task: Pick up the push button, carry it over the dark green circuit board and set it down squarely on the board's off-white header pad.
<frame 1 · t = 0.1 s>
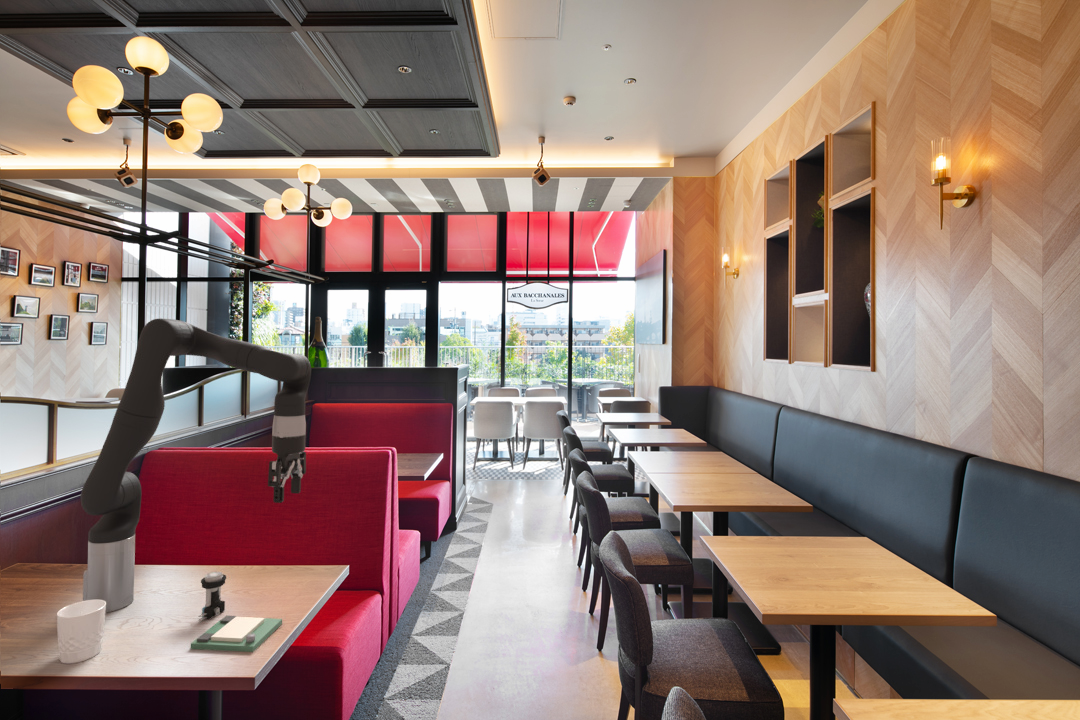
hand: (287, 497, 131), 29 cm above the table, fingers open, 8 cm apart
board: (238, 635, 120), on the table
white cup: (80, 655, 111), on the table
push button: (210, 616, 129), on the table
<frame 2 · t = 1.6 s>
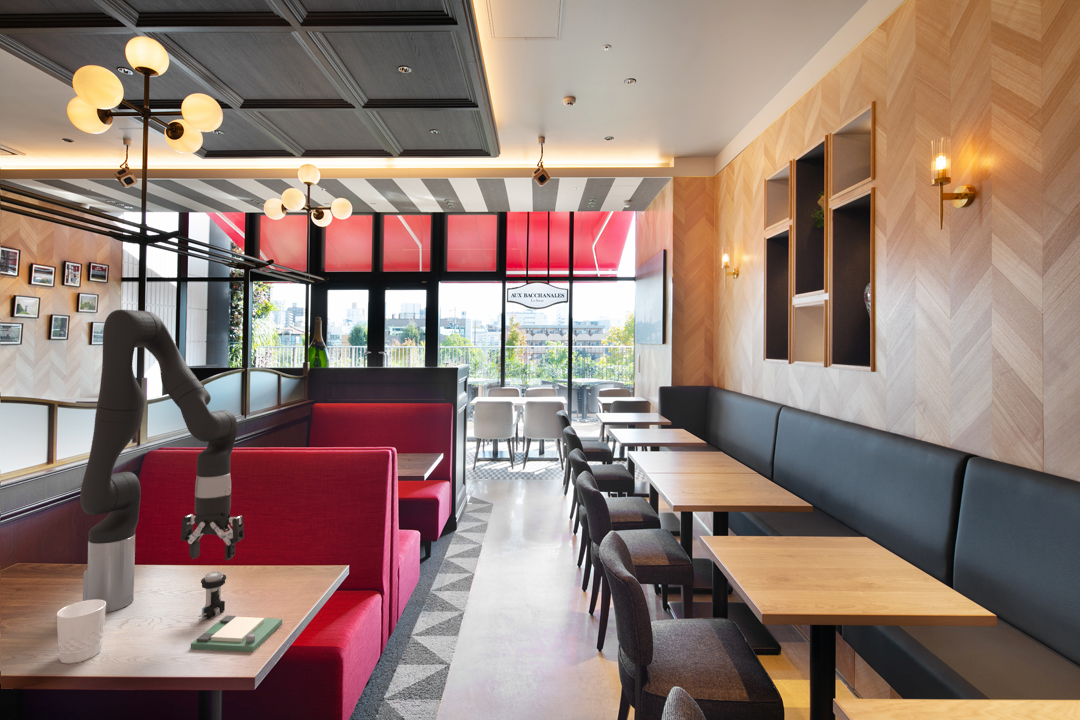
hand: (212, 558, 128), 14 cm above the table, fingers open, 8 cm apart
nothing on the table moved.
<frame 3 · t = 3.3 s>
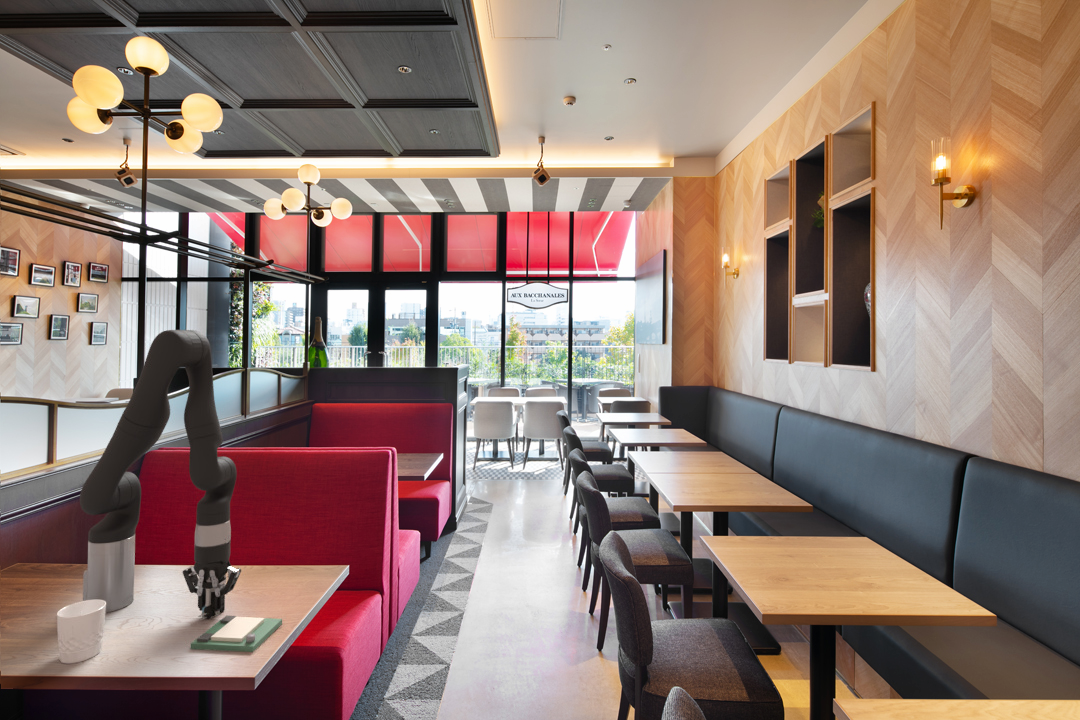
hand: (211, 609, 129), 2 cm above the table, fingers closed on push button, 3 cm apart
push button: (210, 616, 129), on the table, touching gripper
everything else where it was.
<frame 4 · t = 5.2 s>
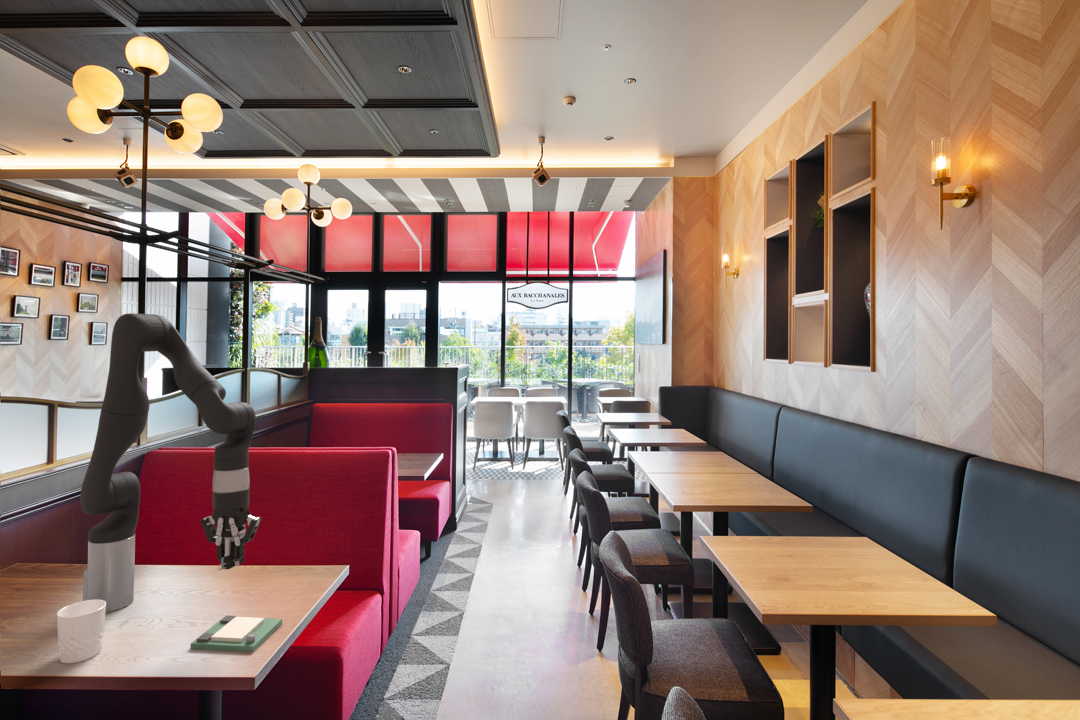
hand: (230, 559, 124), 16 cm above the table, fingers closed on push button, 3 cm apart
push button: (230, 567, 124), point 14 cm above the table, touching gripper
everything else where it was.
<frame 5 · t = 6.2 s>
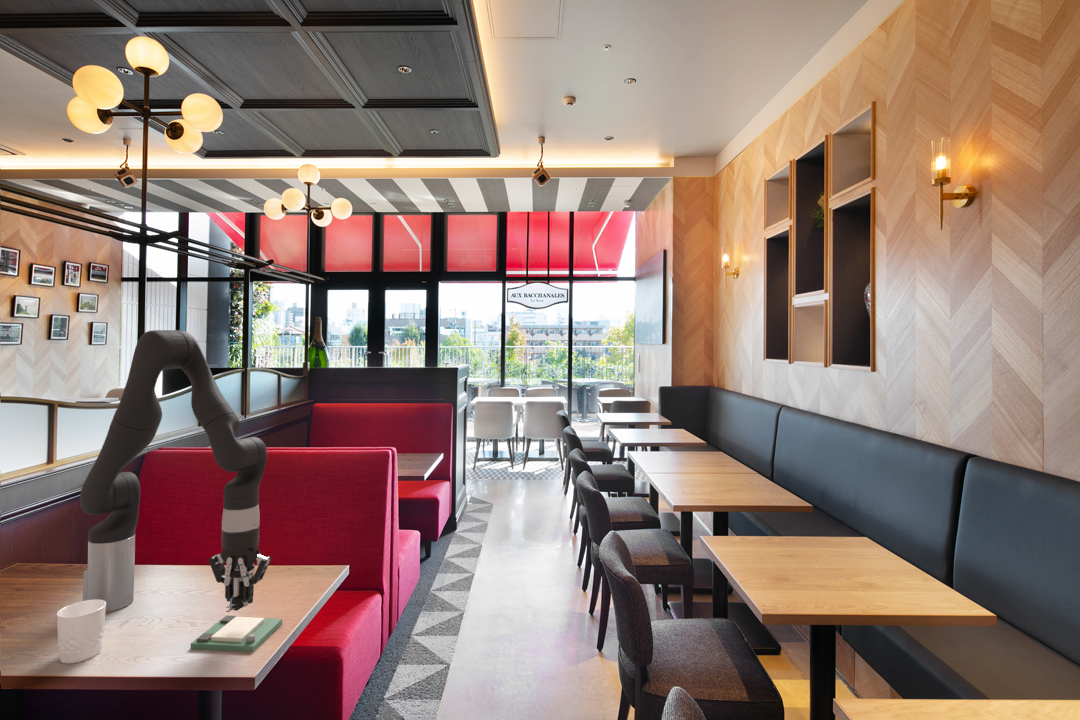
hand: (239, 600, 120), 8 cm above the table, fingers closed on push button, 3 cm apart
push button: (238, 608, 120), point 6 cm above the table, touching gripper
everything else where it was.
when the fingers open (4 cm above the table, at t = 7.2 s): push button stays where it is, resting on board.
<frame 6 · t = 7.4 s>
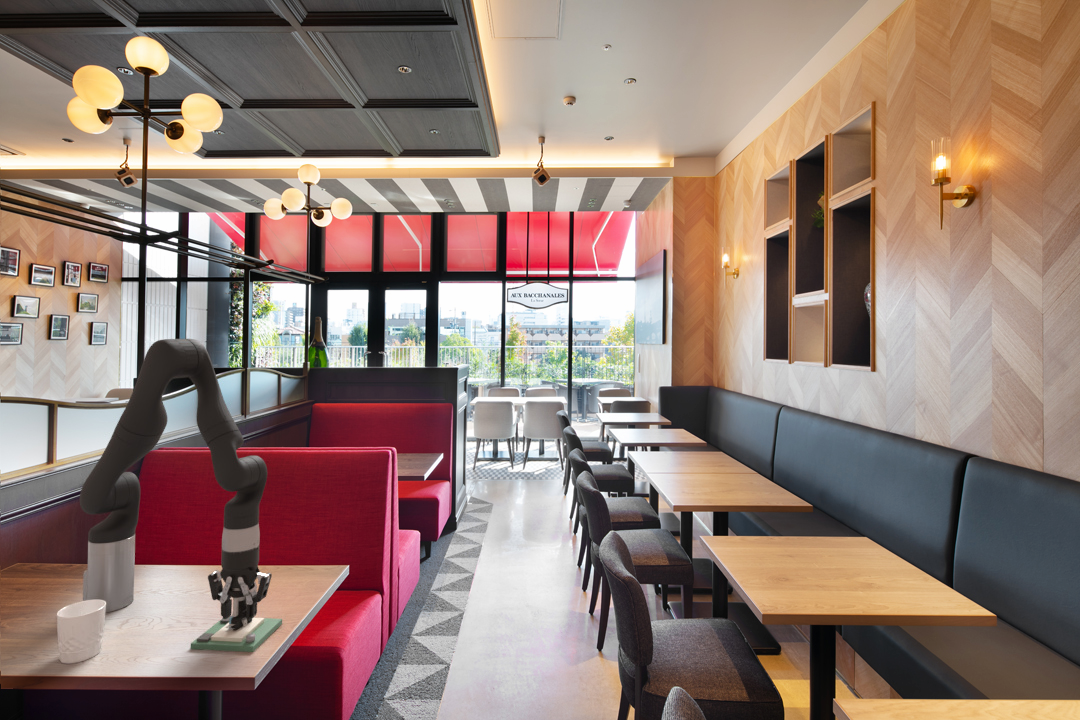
hand: (238, 617, 120), 4 cm above the table, fingers open, 5 cm apart
push button: (237, 627, 120), point 2 cm above the table, touching board
everything else where it was.
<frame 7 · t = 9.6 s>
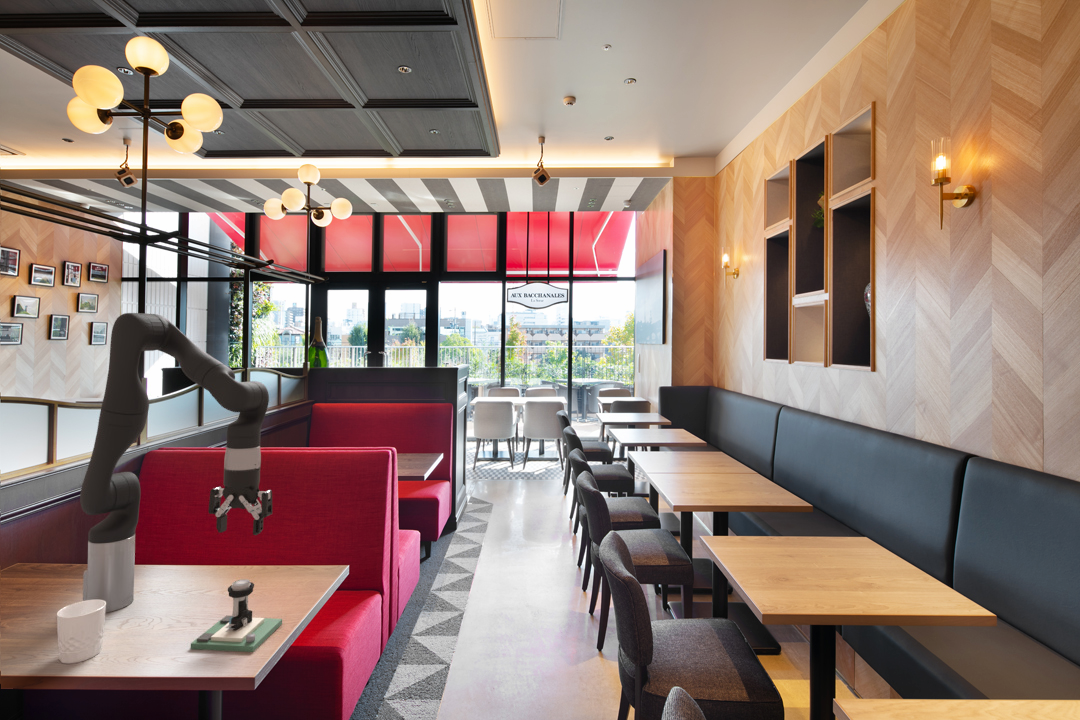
hand: (239, 532, 125), 22 cm above the table, fingers open, 8 cm apart
nothing on the table moved.
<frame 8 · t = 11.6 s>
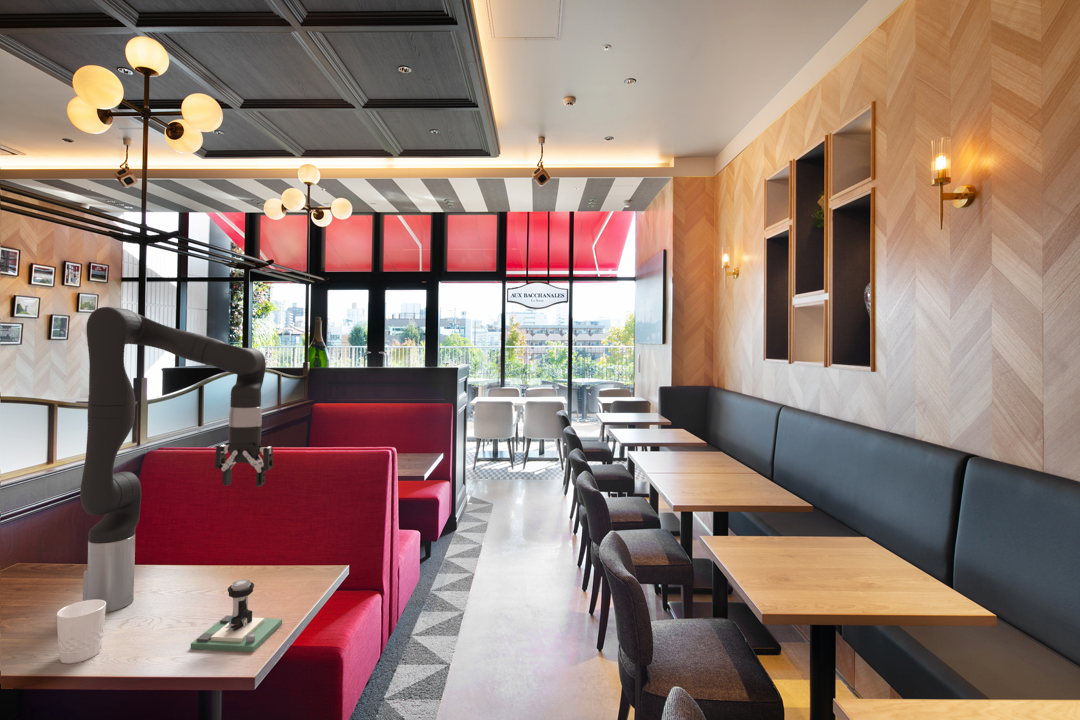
hand: (243, 485, 137), 30 cm above the table, fingers open, 8 cm apart
nothing on the table moved.
at the end: push button inside the target area on the board (0.2 cm from its centre), point 1.8 cm above the board's base; push button tilted 0°; the gripper is holding nothing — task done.
